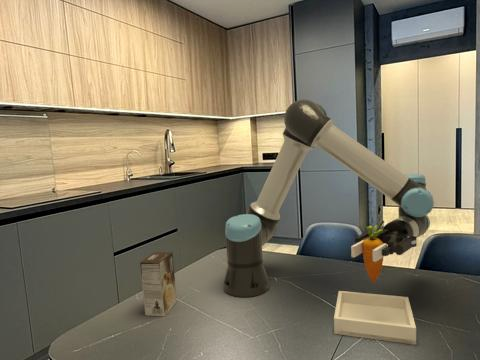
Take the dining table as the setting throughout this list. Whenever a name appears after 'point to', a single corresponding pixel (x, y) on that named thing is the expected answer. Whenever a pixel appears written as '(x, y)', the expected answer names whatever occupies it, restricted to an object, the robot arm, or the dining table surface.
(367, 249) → the carrot
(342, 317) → the tray
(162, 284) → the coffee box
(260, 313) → the dining table surface
